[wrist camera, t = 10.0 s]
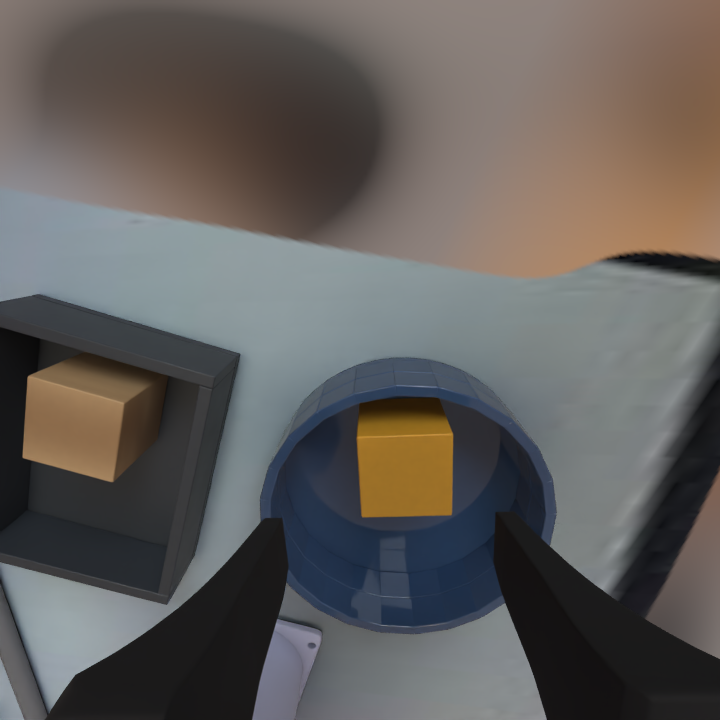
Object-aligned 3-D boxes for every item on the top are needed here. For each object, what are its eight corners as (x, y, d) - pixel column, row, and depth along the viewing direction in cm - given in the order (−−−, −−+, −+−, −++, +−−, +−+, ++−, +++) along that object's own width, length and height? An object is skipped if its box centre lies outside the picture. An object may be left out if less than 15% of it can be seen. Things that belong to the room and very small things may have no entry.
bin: (194, 555, 25) (167, 605, 22) (23, 509, 24) (-32, 554, 21) (240, 353, 21) (215, 376, 18) (38, 293, 21) (-27, 306, 17)
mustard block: (438, 466, 22) (452, 516, 18) (363, 468, 22) (361, 518, 18) (439, 396, 21) (453, 433, 17) (359, 399, 21) (356, 437, 17)
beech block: (157, 439, 22) (112, 483, 18) (82, 418, 22) (21, 458, 18) (169, 371, 21) (124, 403, 17) (90, 348, 21) (26, 375, 17)
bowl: (470, 596, 25) (487, 661, 21) (255, 537, 24) (233, 594, 21) (567, 400, 21) (609, 438, 18) (314, 324, 21) (301, 345, 17)
